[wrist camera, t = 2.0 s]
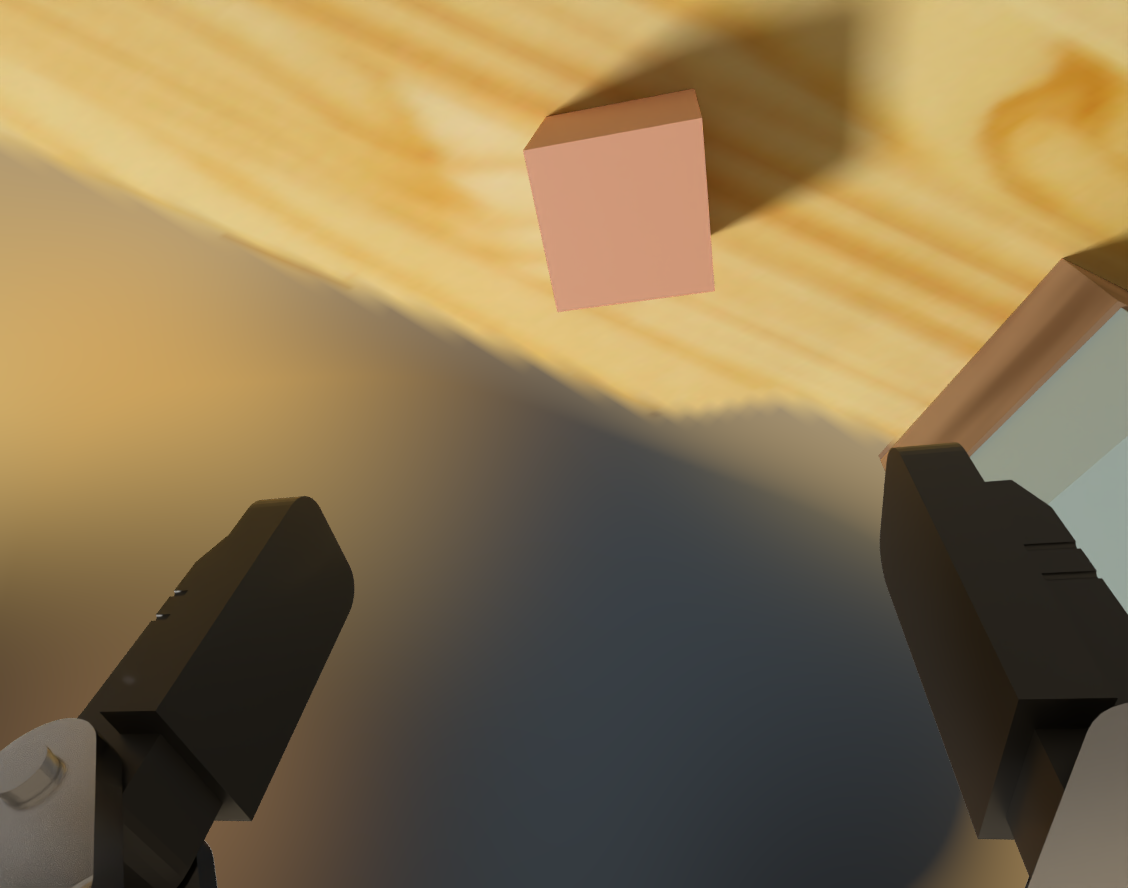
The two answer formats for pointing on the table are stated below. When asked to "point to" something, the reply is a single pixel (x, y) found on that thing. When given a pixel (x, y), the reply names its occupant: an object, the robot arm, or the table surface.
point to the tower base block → (1017, 359)
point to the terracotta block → (623, 201)
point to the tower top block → (1077, 450)
